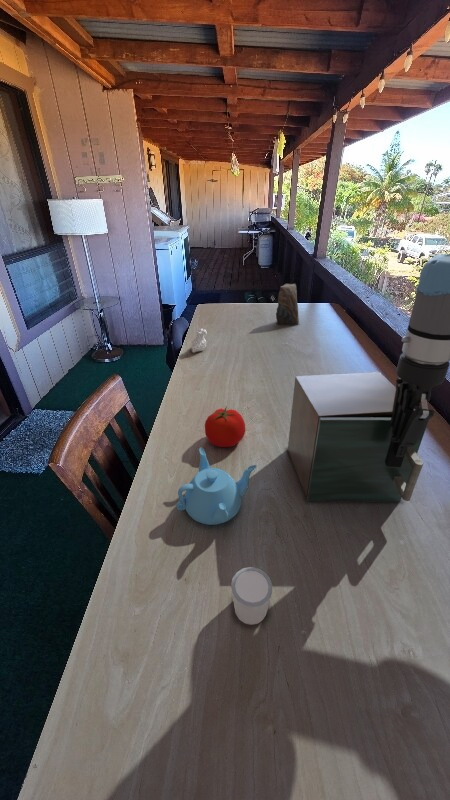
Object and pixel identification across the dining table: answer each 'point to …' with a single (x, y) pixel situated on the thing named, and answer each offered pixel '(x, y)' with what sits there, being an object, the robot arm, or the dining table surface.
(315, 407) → the cupboard
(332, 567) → the dining table surface
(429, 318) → the robot arm
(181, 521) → the dining table surface
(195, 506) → the teapot
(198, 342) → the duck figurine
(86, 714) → the dining table surface
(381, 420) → the cupboard door
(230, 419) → the tomato
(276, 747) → the dining table surface
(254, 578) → the glass of milk
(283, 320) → the brown rock
